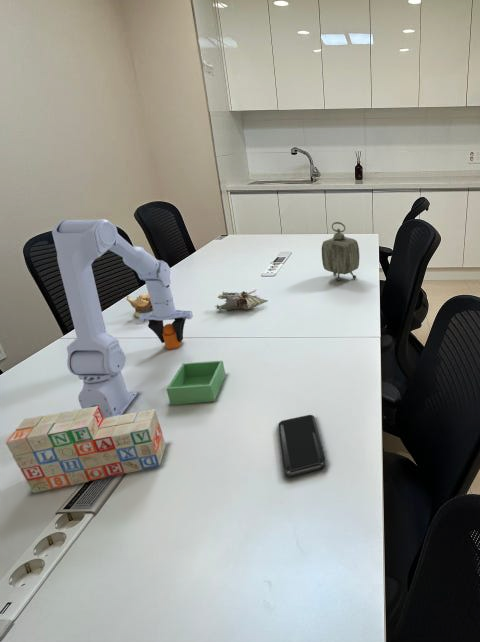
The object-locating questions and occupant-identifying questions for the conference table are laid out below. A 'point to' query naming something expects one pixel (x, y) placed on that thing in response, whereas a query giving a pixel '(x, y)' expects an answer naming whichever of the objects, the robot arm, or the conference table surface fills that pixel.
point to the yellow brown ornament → (141, 304)
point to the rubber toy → (170, 337)
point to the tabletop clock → (340, 254)
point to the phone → (301, 446)
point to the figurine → (239, 301)
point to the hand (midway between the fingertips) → (172, 340)
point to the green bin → (196, 382)
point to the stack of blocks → (85, 446)
